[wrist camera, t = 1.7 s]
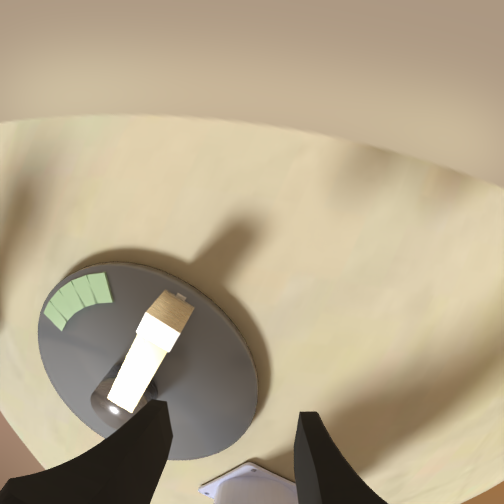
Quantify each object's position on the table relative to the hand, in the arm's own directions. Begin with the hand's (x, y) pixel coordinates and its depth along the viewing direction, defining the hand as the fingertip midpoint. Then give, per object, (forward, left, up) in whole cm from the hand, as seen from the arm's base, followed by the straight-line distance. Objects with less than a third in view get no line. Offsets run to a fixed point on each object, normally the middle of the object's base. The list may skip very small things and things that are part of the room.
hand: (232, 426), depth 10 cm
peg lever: (+3, +6, -8) cm, 11 cm away
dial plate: (+3, +10, -9) cm, 14 cm away
